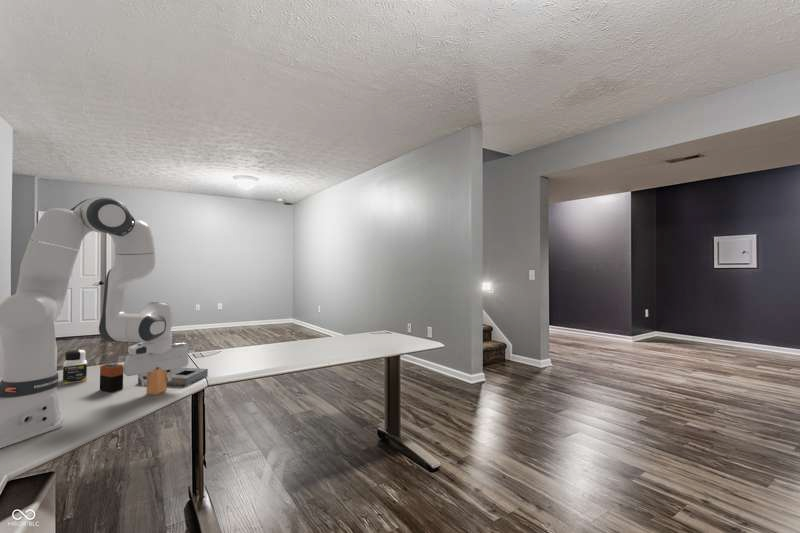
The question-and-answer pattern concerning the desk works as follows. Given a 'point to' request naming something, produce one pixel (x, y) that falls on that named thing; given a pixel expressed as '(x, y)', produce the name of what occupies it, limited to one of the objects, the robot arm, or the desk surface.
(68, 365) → the medicine bottle
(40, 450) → the desk surface
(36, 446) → the desk surface
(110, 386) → the battery
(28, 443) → the desk surface
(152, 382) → the plug
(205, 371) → the socket plate
